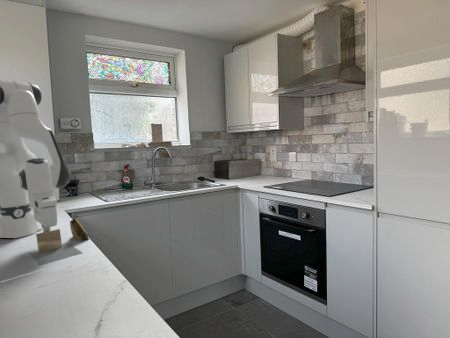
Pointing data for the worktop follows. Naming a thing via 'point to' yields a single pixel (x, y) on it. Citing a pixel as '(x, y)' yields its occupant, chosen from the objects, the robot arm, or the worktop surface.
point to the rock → (78, 230)
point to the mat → (55, 254)
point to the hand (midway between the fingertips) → (47, 234)
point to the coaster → (49, 240)
